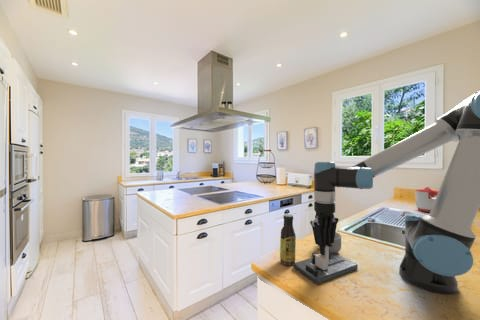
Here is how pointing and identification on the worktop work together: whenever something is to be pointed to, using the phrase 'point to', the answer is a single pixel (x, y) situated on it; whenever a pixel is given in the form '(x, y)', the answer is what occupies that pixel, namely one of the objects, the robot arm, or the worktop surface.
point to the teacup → (335, 243)
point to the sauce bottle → (287, 241)
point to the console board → (335, 269)
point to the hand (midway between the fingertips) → (324, 262)
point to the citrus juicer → (425, 199)
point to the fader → (321, 261)
